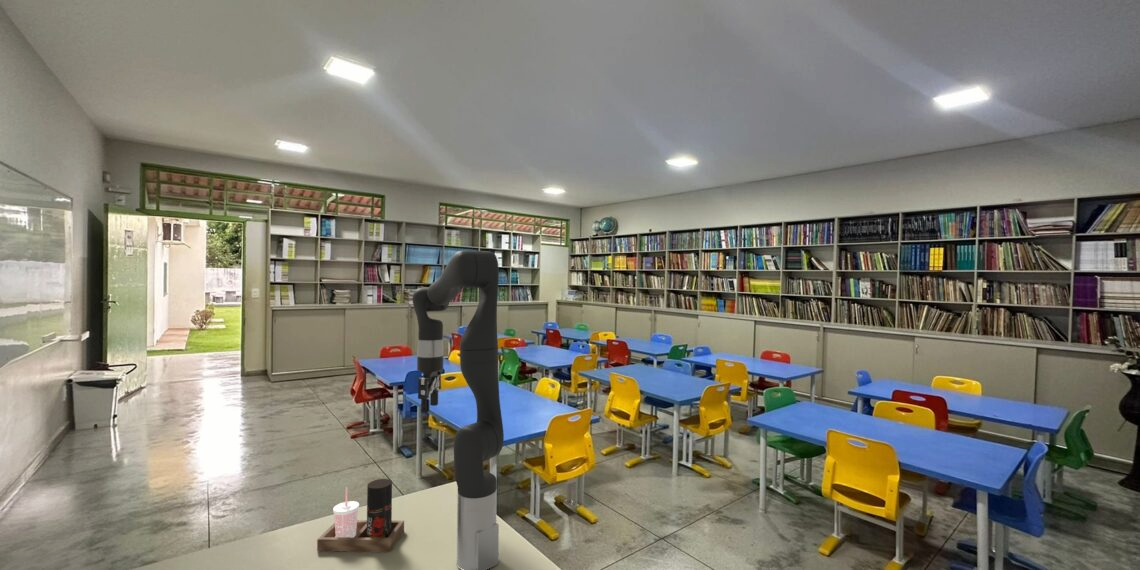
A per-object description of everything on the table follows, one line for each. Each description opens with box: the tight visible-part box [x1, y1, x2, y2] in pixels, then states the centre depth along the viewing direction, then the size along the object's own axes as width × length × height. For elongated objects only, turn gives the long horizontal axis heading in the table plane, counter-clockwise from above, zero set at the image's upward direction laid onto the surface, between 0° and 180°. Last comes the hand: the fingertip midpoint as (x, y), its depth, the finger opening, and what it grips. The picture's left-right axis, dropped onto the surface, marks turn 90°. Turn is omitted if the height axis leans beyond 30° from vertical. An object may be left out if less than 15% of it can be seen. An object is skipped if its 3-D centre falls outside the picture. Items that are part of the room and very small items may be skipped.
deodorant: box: [366, 478, 393, 538], centre depth 117 cm, size 6×6×15 cm
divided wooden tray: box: [316, 519, 405, 553], centre depth 117 cm, size 18×10×3 cm, turn 90°
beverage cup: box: [332, 486, 360, 537], centre depth 117 cm, size 6×6×14 cm
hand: (429, 408), depth 135 cm, fingers open, 8 cm apart
